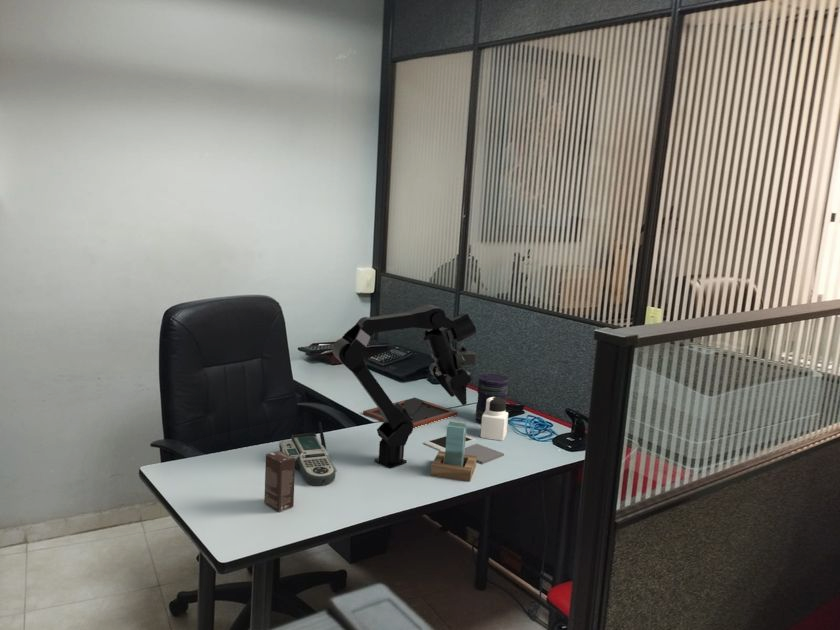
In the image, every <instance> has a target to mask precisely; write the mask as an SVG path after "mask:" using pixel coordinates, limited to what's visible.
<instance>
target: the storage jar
mask: <svg viewBox="0 0 840 630" xmlns="http://www.w3.org/2000/svg"><path fill="white" fill-rule="evenodd" d="M477 381H478V382H477V390H476V392H477V403H476V406H475V420H476V421H475V422H476V423H477V424H478V423H479V425H481V423H482V415H483V414H484V412H485V410H486V401H487V399H488V398H490V397H500V398H502V399H504V400H505V401H506V402H507V396H508V390H509V387H508V386H509V383H508V382H509V378H508V377H507V376H505V375H501V374H495V373H484V374H480V375H479V376H478V380H477ZM506 410H507V409H506ZM506 410H505V412H507V411H506Z"/></svg>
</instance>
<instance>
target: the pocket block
mask: <svg viewBox="0 0 840 630" xmlns="http://www.w3.org/2000/svg"><path fill="white" fill-rule="evenodd" d="M476 460H477V456H472V455H465V454H464V467H463V466H456V465H449V464H445V451H444V450H443V451H439V450H438V452H437V454H436V456H435V457H434V459H433V461H432V463H431V464H430V477H436V476H437V478H443V479H450V480H456V481H457V480H458V481H462V482H463V481H464V482H471V481H472V477H473V475H474V472H475V469H476V467H477V462H476Z"/></svg>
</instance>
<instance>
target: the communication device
mask: <svg viewBox="0 0 840 630" xmlns="http://www.w3.org/2000/svg"><path fill="white" fill-rule="evenodd" d="M318 429H319V437H320V440H319V438H318V437H317V434H316V433H315V432H314V433H312V432H311V433H303V434H301V433H300V434H293V435H291V439H289V440H280V441H279V443H278V444H279V446H278V447H279V451H281V452H283V453H286V454H288V455H290V456H292V457H294V458H295V469H297V470H298V471H299V473H300V474H301V477H302V478H303V480H304V481H305V483H306V484H308V485H312V486H316V487H317V486H318V487H324V486H327V485H329V484H331V483H333V482H334V481H335V479H336V473H337V469H336V466H335V464H334V463H333V462H332V460H331V458H330V456H329V452H327V445H326V440H325V435H324V431H323V427H322V422H321V421H318Z"/></svg>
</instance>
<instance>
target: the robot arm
mask: <svg viewBox="0 0 840 630" xmlns="http://www.w3.org/2000/svg"><path fill="white" fill-rule="evenodd" d="M411 328H414V329H415V328H416V329H422V331H421V334H420V335H419V337H418V338H419V340H422V341H428V345H429V348H430V350H431V353H432V354H430V356H431V359H433V360H434V362H431V364H430V365H429V367H428V369H429V372H430V374H431V375H432V376H433V378H434V379H435V380H436V381H437V382H438V384H440V386H441V387H442V388H443V389H444V390H445V392H446V393H447V394H448V395H449V396H450V397H451V398H453V397H455V398H456V399H457V400H458V401H459V402H460V404H461V405H462V406H466V405H467V388H468V387H467V386H468V385H469V384H470V383H471V382H472V381H473V376H472V373H471V372H469V371H468V370H467V369H464V368H463V366H466V365H467V366H469V365H471V366H476V365H477V353H476V352H474V351H472V350H468V349H467V347H465V346H458V347H457V349H454V348H453V345H452V342H453V341H454V342H455V343H460V342H462V341H464V340H466V339H468V338H471V337H474V336H475V335H476V334H477V329H476V324H474V322H473V321H472V319H471V318H470V316H469V314H468V313H466V312H463V313H460V314H459V315H458V316H455V317H453V318H448V317H447V316H446V312H445V311H444V310H443V309H442V308H440V307H438V306H435V305H433V304H423V305H422V306H418V307H415V308H413V309H411V310H410V311H405V312H398V313H391V314H384V315H376V316H362V317H361V318H360V319H359V320H358V321H357V322H356V323H355V324H354V325H353V326H352V327H351V328H349V329H348V330H347V331H346V332H345V333H344V334H343V336H342V337H341V338H339V339H337V340H336V341H335V342H334V343H333V346H332V349H331V352H332V354H333V356H334V357H335V358H336V359H337V360H338V361H339V362H340V363H341V364H342V365H343V366H345V367H346V368H347V369H348V370H349V371H350V372H351V373H352V374H353V376H354V377H355V378H356V380H358V382H359V383H360V385H361V386H362V388H363V389H364V391H365V392H366V393H367V394H368V396H369V397H370V399H371V400H372V401H373V402H374V404H375V405H376V408H377V407H378V408H379V410H380V412H381V415H382V418H383V420H384V422H382V424H381V425H379V427H378V428H376V432H377V434H378V437H380V438H381V440H379V445H378V446H379V449H378V457H376V458H375V459H374V462H376V463H378V464H380V465H383V466H385V467H387V468H389V469H393V468H395V467H398V466H401V465H403V464H407V459H404V457H405V455H404V453H405V452H404V451H405V446H406V444H407V441H408V440H409V437H410V436H411V434H412V433H413V430H414V429H413V427H414V425H413V423H412V421H411V420H413V418H411V417H410V416H409V415H408V413H407V411H406V409H405V408H404V407H403V406H401V405H400V404H399V403H398V402H399V401H396V402H397V403H396V402H395V403H396V404H395V405H394V404H393V403H394V402H393V401H392V400H391V399H390V396H388V394H387V393H386V392H385V390H384V388H382V387H383V386H381V384H380V383H379V382H378V380H377V379H376V378H375V376H374V375H373V373H372V372H371V371H370V369H369V368H368V365H367V363H366V360H365V357H364V354H363V352H364V351H365V349H366V347H367V346H368V344H369V342H370V340H371V337H372V336H373V335H374V334H377V333H384V332H390V331H398V330H404V329H405V330H406V329H411ZM451 341H452V342H451Z"/></svg>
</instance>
